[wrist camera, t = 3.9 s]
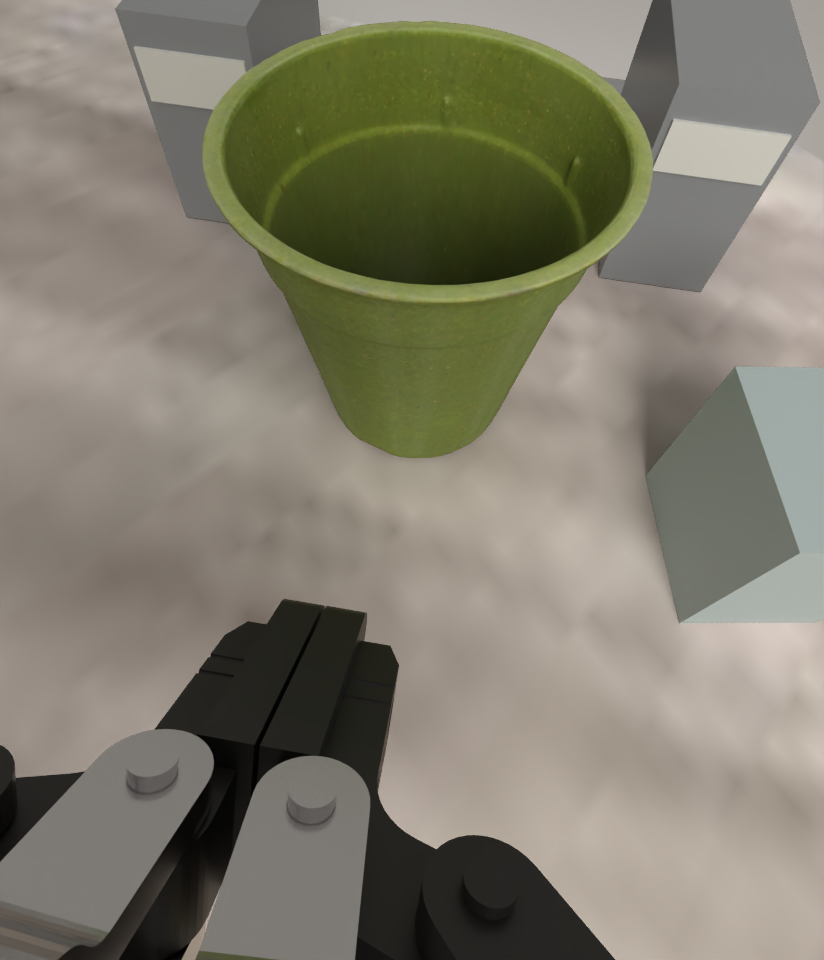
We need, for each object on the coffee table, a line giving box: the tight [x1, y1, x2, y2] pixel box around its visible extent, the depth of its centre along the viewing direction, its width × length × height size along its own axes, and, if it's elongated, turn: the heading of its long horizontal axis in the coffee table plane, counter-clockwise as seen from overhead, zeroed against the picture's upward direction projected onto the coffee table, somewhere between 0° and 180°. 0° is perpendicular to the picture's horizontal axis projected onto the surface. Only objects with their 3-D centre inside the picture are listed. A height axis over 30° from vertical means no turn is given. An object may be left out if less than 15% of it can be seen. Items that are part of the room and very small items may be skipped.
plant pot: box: [202, 21, 653, 458], centre depth 20 cm, size 12×12×11 cm
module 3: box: [645, 366, 824, 623], centre depth 20 cm, size 5×6×7 cm
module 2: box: [599, 0, 820, 292], centre depth 27 cm, size 5×10×9 cm, turn 171°
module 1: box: [116, 0, 321, 223], centre depth 28 cm, size 5×10×9 cm, turn 171°
